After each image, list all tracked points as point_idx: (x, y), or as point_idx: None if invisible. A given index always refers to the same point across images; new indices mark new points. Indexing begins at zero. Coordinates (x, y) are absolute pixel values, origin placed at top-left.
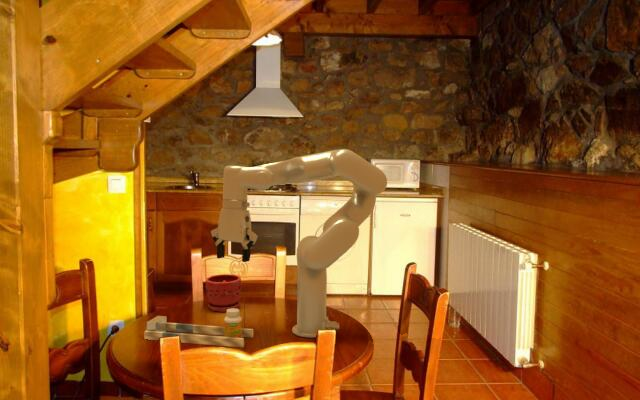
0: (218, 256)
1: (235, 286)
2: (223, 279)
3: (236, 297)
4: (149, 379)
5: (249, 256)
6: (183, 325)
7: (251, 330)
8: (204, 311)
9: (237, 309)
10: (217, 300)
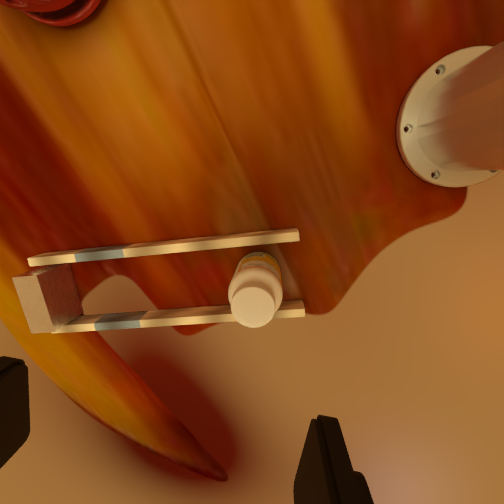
0: (10, 449)
1: None
2: None
3: None
4: (214, 473)
5: (365, 501)
6: (98, 259)
7: (296, 240)
8: (26, 37)
9: (264, 297)
10: (39, 10)
